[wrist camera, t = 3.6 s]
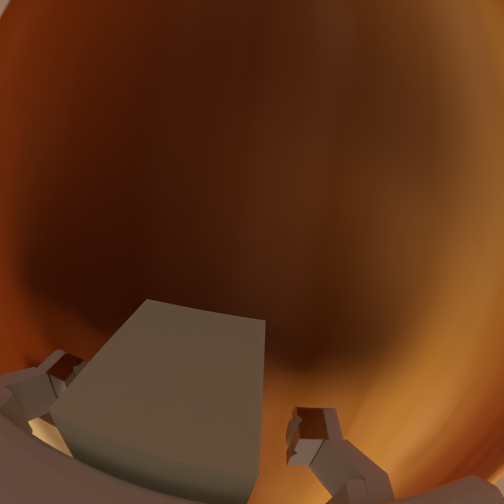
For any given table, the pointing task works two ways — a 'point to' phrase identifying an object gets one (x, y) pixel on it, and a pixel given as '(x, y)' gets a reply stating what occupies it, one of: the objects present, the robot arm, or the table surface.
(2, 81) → the table surface
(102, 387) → the sage block
